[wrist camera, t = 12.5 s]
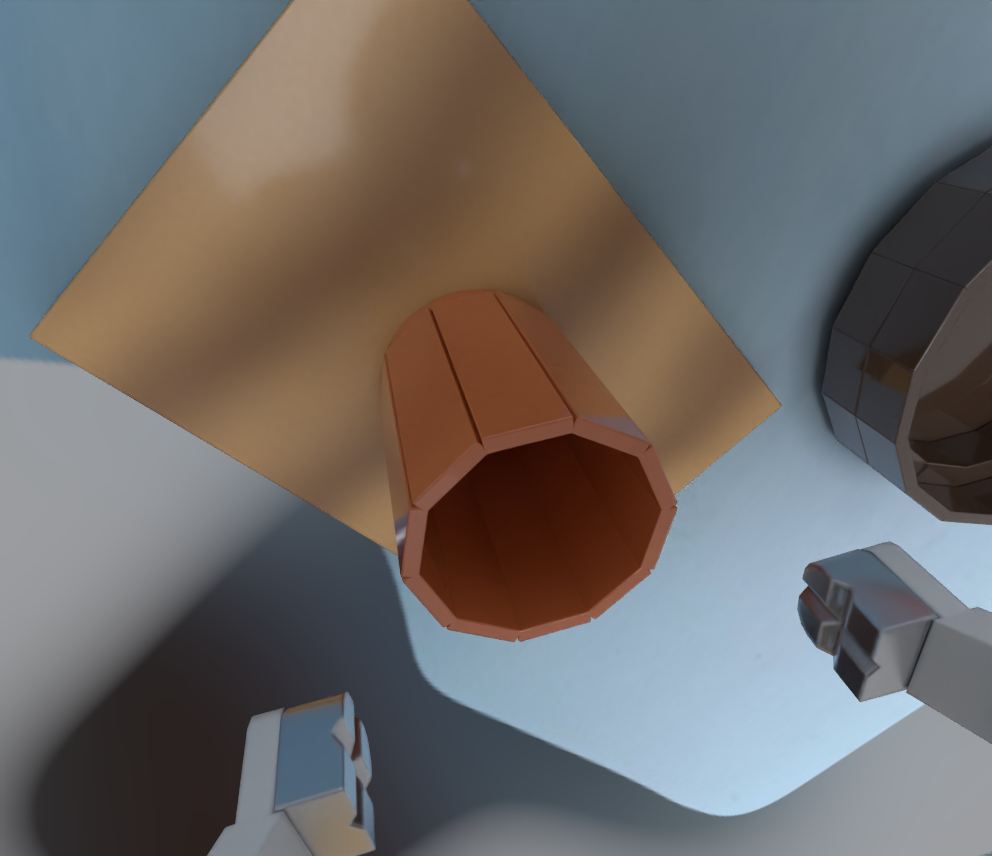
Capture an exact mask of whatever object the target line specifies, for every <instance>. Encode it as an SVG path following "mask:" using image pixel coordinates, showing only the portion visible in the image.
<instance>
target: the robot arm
mask: <svg viewBox="0 0 992 856" xmlns="http://www.w3.org/2000/svg"><path fill="white" fill-rule="evenodd" d="M803 580H804V581H805V582H806V583H807V584H808V586H807V588H806V589H805V590H804V591H803V592H802V593H801V595H800V596H799V601H798V613H799V617H800V621H801V624H802V626H803V628H804V630H805V632H806V634H807V636H808V637H809V638H810V640H811V641H812V642H813V643H814V645H815V646H816V647H817V648H818V649H820V650H822V651H824V652H826V653H828V654H830V655H832V656H833V664H834V670H835V671H836V673H837V674H838V675H839V676H840V678H841V679H842V680H843V681H844V683H845V684H846V685H847V686H848V688H849V689H850V690H851V691H852V693H853V694H854V695H855V696H856V698H857V699H858V700H859V701H860V702H862V701H866V700H870V699H873V698H877V697H881V696H884V695H888V694H892V693H896V692H899V691H903V690H907V692H906V693H908V694H910V695H911V696H913V697H915V698H916V699H918V700H920V701H921V702H923V703H925V704H926V705H928V706H930V707H931V708H933V709H935V710H936V711H938V712H940V713H941V714H943V715H945V716H946V717H948V718H950V719H951V720H953V721H954V722H956V723H958V724H960V725H961V726H963V727H965V728H966V729H968V730H970V731H971V732H973V733H974V734H976V735H978V736H979V737H981V738H983V739H984V740H986V741H988V742H989V743H991V744H992V612H989V611H986V610H984V609H981V608H979V607H976V608H972V609H969V608H968V607H967V606H966V605H965V604H964V603H962V602H961V601H960V600H959V599H958V598H957V597H956V596H955V595H953V594H952V593H951V592H950V591H949V590H948V589H947V588H946V587H945V586H943V585H942V584H941V583H940V582H939V581H938V580H937V579H936V578H934V577H933V576H932V575H931V574H930V573H929V572H928V571H927V570H925V569H924V568H923V567H922V566H921V565H920V564H919V563H918V562H917V561H915V560H914V559H913V558H912V557H911V556H910V555H909V554H908V553H906V552H905V551H904V550H903V549H902V548H901V547H900V546H898V545H896V544H894V543H892V542H885V543H881V544H877V545H874V546H871V547H867V548H864V549H861V550H860V549H857V550H854V551H850V552H847V553H843V554H840V555H837V556H833V557H830V558H826V559H823V560H819V561H816V562H813V563H810V564H809V565H808V566H807V567H806V568H805V570H804V575H803ZM371 778H372V770H371V758H370V751H369V745H368V739H367V736H366V732H365V729H364V726H363V724H362V721H361V719H359V718H356V717H354V703H353V701H352V699H351V697H350V695H349V693H348V692H345V693H341V694H337V695H334V696H330V697H326V698H321V699H317V700H314V701H310V702H306V703H302V704H298V705H294V706H290V707H286V708H281V709H278V710H274V711H270V712H267V713H263V714H260V715H256V716H253V717H252V719H251V721H250V724H249V726H248V729H247V736H246V744H245V752H244V760H243V768H242V776H241V784H240V791H239V799H238V807H237V815H236V823H235V824H234V825H231V826H228V827H225V829H224V830H223V832H222V834H221V835H220V837H219V838H218V840H217V841H216V843H215V844H214V846H213V848H212V849H211V851H210V852H209V854H208V855H207V856H358V855H361V854H364V853H366V852H370V851H373V850H375V830H374V809H373V808H374V807H373V804H372V801H371V799H370V797H369V795H368V793H367V791H366V788H367V786H368V784H369V782H370V780H371ZM980 856H992V852H989V853H986V854H983V855H980Z"/></svg>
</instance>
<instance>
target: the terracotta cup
mask: <svg viewBox="0 0 992 856" xmlns="http://www.w3.org/2000/svg"><path fill="white" fill-rule="evenodd" d="M380 391H381V393H380V404H379V411H380V419H381V427H382V434H383V442H384V450H385V458H386V465H387V473H388V481H389V489H390V496H391V504H392V512H393V520H394V527H395V535H396V543H397V551H398V558H399V566H400V574H401V577H402V580H403V582H404V583H405V585H406V586H407V587H408V588H409V589H410V590H411V591H412V593H413V594H414V595H415V596H416V597H417V598H418V599H419V601H420V602H421V603H422V604H423V605H424V606H425V607H426V608H427V610H428V611H429V612H430V613H431V614H432V615H433V616H434V618H435V619H436V620H437V621H438V622H439V623H440V624H441V625H442V627H446V626H447V629H448V630H452V631H457V632H463V633H468V634H473V635H479V636H484V637H489V638H495V639H500V640H505V641H511V642H515V641H516V640H517V638H518V640H519V641H520V642H521V641H525V640H528V639H532V638H535V637H539V636H542V635H546V634H549V633H553V632H557V631H560V630H564V629H567V628H571V627H574V626H578V625H581V624H585V623H588V622H591V617H592V618H594V619H597V618H598V617H599V616H600V615H601V614H603V613H604V612H605V611H606V610H607V609H609V608H610V607H611V606H612V605H614V604H615V603H616V602H617V601H618V600H620V599H621V598H622V597H623V596H624V595H626V594H627V593H628V592H629V591H630V590H632V589H633V588H634V587H635V586H637V585H638V584H639V583H640V582H641V581H643V580H644V579H645V578H646V577H647V576H649V575H650V574H651V571H650V570H652V569H655V566H656V564H657V561H658V558H659V556H660V553H661V550H662V548H663V545H664V543H665V540H666V537H667V535H668V532H669V529H670V527H671V524H672V522H673V519H674V516H675V514H676V511H677V507H676V505H677V500H676V498H675V496H674V493H673V491H672V488H671V486H670V484H669V481H668V479H667V476H666V474H665V472H664V469H663V467H662V465H661V462H660V460H659V457H658V455H657V453H656V450H655V448H654V446H653V445H652V444H651V442H650V441H649V440H648V439H647V437H646V436H645V435H644V434H643V432H642V431H641V430H640V429H639V427H638V426H637V425H636V424H635V423H634V421H633V420H632V419H631V418H630V416H629V415H628V414H627V413H626V411H625V410H624V409H623V408H622V406H621V405H620V404H619V403H618V401H617V400H616V399H615V398H614V396H613V395H612V394H611V393H610V391H609V390H608V389H607V388H606V386H605V385H604V384H603V383H602V381H601V380H600V379H599V378H598V376H597V375H596V374H595V373H594V371H593V370H592V369H591V368H590V366H589V365H588V364H587V363H586V362H585V360H584V359H583V358H582V357H581V355H580V354H579V353H578V352H577V350H576V349H575V348H574V347H573V345H572V344H571V343H570V342H569V340H568V339H567V338H566V337H565V335H564V334H563V333H562V332H561V330H560V329H559V328H558V327H557V325H556V324H555V323H554V322H553V320H552V319H551V318H549V317H548V315H546V314H544V313H542V312H540V311H538V310H537V309H536V308H534V307H533V306H532V305H531V304H529V303H527V302H525V301H524V300H522V299H520V298H518V297H515V296H513V295H510V294H507V293H503V292H499V291H493V290H467V291H460V292H456V293H452V294H449V295H445V296H443V297H441V298H438V299H436V300H434V301H432V302H430V303H428V304H427V305H425V306H423V307H422V308H420V309H419V310H418V311H416V312H415V313H414V314H412V315H411V316H410V317H409V318H408V319H407V320H406V321H405V322H404V323H403V324H402V325H401V327H400V328H399V329H398V331H397V332H396V333H395V335H394V336H393V338H392V340H391V342H390V343H389V345H388V347H387V350H386V352H385V355H384V358H383V362H382V366H381V373H380Z"/></svg>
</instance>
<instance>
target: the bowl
mask: <svg viewBox="0 0 992 856" xmlns="http://www.w3.org/2000/svg"><path fill="white" fill-rule="evenodd" d="M822 395H823V398H824V401H825V404H826V408H827V411H828V414H829V417H830V421H831V424H832V427H833V430H834V434H835V437H836V439H837V441H839V442H840V443H841V444H842V445H844V446H845V447H846V448H848V449H849V450H850V451H851V452H853V453H854V454H855V455H857V456H858V457H859V458H860V459H862V460H863V461H864V462H866V463H867V464H868V465H869V466H871V467H872V468H873V469H874V470H876V471H877V472H878V473H880V474H881V475H882V476H883V477H885V478H886V479H887V480H889V481H890V482H891V483H892V484H894V485H895V486H896V487H898V488H899V489H900V490H901V491H903V492H904V493H905V494H906V495H908V496H909V497H910V498H912V499H913V500H914V501H916V502H917V503H918V504H919V505H921V506H922V507H923V508H925V509H926V510H927V511H928V512H930V513H931V514H932V515H934V516H935V517H936V518H937V519H939V520H941V521H946V522H959V523H972V524H985V525H992V147H990V148H989V149H987V150H986V151H984V152H982V153H981V154H979V155H978V156H976V157H975V158H973V159H971V160H970V161H968V162H967V163H965V164H963V165H962V166H960V167H959V168H957V169H955V170H954V171H952V172H951V173H949V174H948V175H946V176H944V177H943V178H941V179H940V180H938V181H937V182H936V183H934V184H933V185H932V186H931V187H930V188H929V189H928V190H927V191H926V192H925V193H924V195H923V196H922V197H921V198H920V199H919V200H918V201H917V202H916V203H915V204H914V205H913V207H912V208H911V209H910V210H909V211H908V212H907V213H906V214H905V215H904V216H903V217H902V219H901V220H900V221H899V222H898V223H897V224H896V225H895V226H894V227H893V228H892V229H891V231H890V232H889V233H888V234H887V235H886V236H885V237H884V238H883V239H882V240H881V241H880V243H879V244H878V245H877V246H876V247H875V248H874V249H873V250H872V253H871V254H870V255H869V257H868V259H867V261H866V263H865V265H864V267H863V268H862V270H861V272H860V274H859V276H858V278H857V280H856V282H855V284H854V286H853V288H852V289H851V291H850V293H849V295H848V297H847V299H846V301H845V303H844V305H843V307H842V309H841V310H840V312H839V314H838V316H837V318H836V320H835V322H834V324H833V328H832V332H831V338H830V344H829V350H828V356H827V362H826V369H825V375H824V381H823V387H822Z"/></svg>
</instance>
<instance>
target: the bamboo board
mask: <svg viewBox="0 0 992 856" xmlns="http://www.w3.org/2000/svg"><path fill="white" fill-rule="evenodd" d="M467 290H493V291H499V292H503V293H507V294H510V295H513V296H515V297H518V298H520V299H522V300H524V301H525V302H527V303H529V304H531V305H532V306H533V307H534V308H536V309H537V310H538V311H540V312H542V313H544V314H546V315H548V317H549V318H551V319H552V320H553V322H554V323H555V324H556V325H557V327H558V328H559V329H560V330H561V332H562V333H563V334H564V335H565V337H566V338H567V339H568V340H569V342H570V343H571V344H572V345H573V347H574V348H575V349H576V350H577V352H578V353H579V354H580V355H581V357H582V358H583V359H584V360H585V362H586V363H587V364H588V365H589V366H590V368H591V369H592V370H593V371H594V373H595V374H596V375H597V376H598V378H599V379H600V380H601V381H602V383H603V384H604V385H605V386H606V388H607V389H608V390H609V391H610V393H611V394H612V395H613V396H614V398H615V399H616V400H617V401H618V403H619V404H620V405H621V406H622V408H623V409H624V410H625V411H626V413H627V414H628V415H629V416H630V418H631V419H632V420H633V421H634V423H635V424H636V425H637V426H638V427H639V429H640V430H641V431H642V432H643V434H644V435H645V436H646V437H647V439H648V440H649V441H650V442H651V444H652V445H653V446H654V448H655V450H656V453H657V455H658V457H659V460H660V462H661V465H662V467H663V469H664V472H665V474H666V476H667V479H668V481H669V484H670V486H671V488H672V491H673V493H674V495H675V494H676V493H678V492H679V491H680V490H681V489H682V488H684V487H685V486H686V485H687V484H688V483H690V482H691V481H692V480H693V479H694V478H696V477H697V476H698V475H699V474H700V473H702V472H703V471H704V470H705V469H707V468H708V467H709V466H710V465H711V464H713V463H714V462H715V461H716V460H717V459H719V458H720V457H721V456H722V455H723V454H725V453H726V452H727V451H728V450H729V449H731V448H732V447H733V446H734V445H735V444H737V443H738V442H739V441H740V440H741V439H743V438H744V437H745V436H746V435H747V434H749V433H750V432H751V431H752V430H753V429H755V428H756V427H757V426H758V425H759V424H761V423H762V422H763V421H764V420H765V419H767V418H768V417H769V416H770V415H771V414H773V413H774V412H775V411H776V410H778V409H779V408H780V407H781V406H782V405H781V403H780V402H779V401H778V399H777V398H776V397H775V396H774V394H773V393H772V392H771V390H770V389H769V388H768V386H767V385H766V384H765V383H764V381H763V380H762V379H761V377H760V376H759V375H758V374H757V372H756V371H755V370H754V368H753V367H752V366H751V365H750V363H749V362H748V361H747V359H746V358H745V357H744V355H743V354H742V353H741V352H740V350H739V349H738V348H737V346H736V345H735V344H734V343H733V341H732V340H731V339H730V337H729V336H728V335H727V334H726V332H725V331H724V330H723V328H722V327H721V326H720V325H719V323H718V322H717V321H716V319H715V318H714V317H713V315H712V314H711V313H710V312H709V310H708V309H707V308H706V306H705V305H704V304H703V303H702V301H701V300H700V299H699V297H698V296H697V295H696V294H695V292H694V291H693V290H692V288H691V287H690V286H689V284H688V283H687V282H686V281H685V279H684V278H683V277H682V275H681V274H680V273H679V272H678V270H677V269H676V268H675V266H674V265H673V264H672V263H671V261H670V260H669V259H668V257H667V256H666V255H665V254H664V252H663V251H662V250H661V248H660V247H659V246H658V244H657V243H656V242H655V241H654V239H653V238H652V237H651V235H650V234H649V233H648V232H647V230H646V229H645V228H644V226H643V225H642V224H641V223H640V221H639V220H638V219H637V217H636V216H635V215H634V213H633V212H632V211H631V210H630V208H629V207H628V206H627V204H626V203H625V202H624V201H623V199H622V198H621V197H620V195H619V194H618V193H617V192H616V190H615V189H614V188H613V186H612V185H611V184H610V183H609V181H608V180H607V179H606V177H605V176H604V175H603V173H602V172H601V171H600V170H599V168H598V167H597V166H596V164H595V163H594V162H593V161H592V159H591V158H590V157H589V155H588V154H587V153H586V152H585V150H584V149H583V148H582V146H581V145H580V144H579V143H578V141H577V140H576V139H575V137H574V136H573V135H572V133H571V132H570V131H569V130H568V128H567V127H566V126H565V124H564V123H563V122H562V121H561V119H560V118H559V117H558V115H557V114H556V113H555V112H554V110H553V109H552V108H551V106H550V105H549V104H548V102H547V101H546V100H545V99H544V97H543V96H542V95H541V93H540V92H539V91H538V90H537V88H536V87H535V86H534V84H533V83H532V82H531V81H530V79H529V78H528V77H527V75H526V74H525V73H524V72H523V70H522V69H521V68H520V66H519V65H518V64H517V62H516V61H515V60H514V59H513V57H512V56H511V55H510V53H509V52H508V51H507V50H506V48H505V47H504V46H503V44H502V43H501V42H500V41H499V39H498V38H497V37H496V35H495V34H494V33H493V31H492V30H491V29H490V28H489V26H488V25H487V24H486V22H485V21H484V20H483V19H482V17H481V16H480V15H479V13H478V12H477V11H476V10H475V8H474V7H473V6H472V4H471V3H470V2H469V1H468V0H292V1H291V2H290V3H289V4H288V6H287V7H286V8H285V10H284V11H283V12H282V13H281V15H280V16H279V17H278V18H277V20H276V21H275V22H274V24H273V25H272V26H271V27H270V29H269V30H268V31H267V33H266V34H265V35H264V36H263V38H262V39H261V40H260V41H259V43H258V44H257V45H256V47H255V48H254V49H253V50H252V52H251V53H250V54H249V55H248V57H247V58H246V59H245V61H244V62H243V63H242V64H241V66H240V67H239V68H238V70H237V71H236V72H235V73H234V75H233V76H232V77H231V78H230V80H229V81H228V82H227V84H226V85H225V86H224V87H223V89H222V90H221V91H220V92H219V94H218V95H217V96H216V98H215V99H214V100H213V101H212V103H211V104H210V105H209V107H208V108H207V109H206V110H205V112H204V113H203V114H202V115H201V117H200V118H199V119H198V121H197V122H196V123H195V124H194V126H193V127H192V128H191V129H190V131H189V132H188V133H187V135H186V136H185V137H184V138H183V140H182V141H181V142H180V144H179V145H178V146H177V147H176V149H175V150H174V151H173V152H172V154H171V155H170V156H169V158H168V159H167V160H166V161H165V163H164V164H163V165H162V166H161V168H160V169H159V170H158V172H157V173H156V174H155V175H154V177H153V178H152V179H151V181H150V182H149V183H148V184H147V186H146V187H145V188H144V189H143V191H142V192H141V193H140V195H139V196H138V197H137V198H136V200H135V201H134V202H133V203H132V205H131V206H130V207H129V209H128V210H127V211H126V212H125V214H124V215H123V216H122V218H121V219H120V220H119V221H118V223H117V224H116V225H115V226H114V228H113V229H112V230H111V232H110V233H109V234H108V235H107V237H106V238H105V239H104V240H103V242H102V243H101V244H100V246H99V247H98V248H97V249H96V251H95V252H94V253H93V255H92V256H91V257H90V258H89V260H88V261H87V262H86V263H85V265H84V266H83V267H82V269H81V270H80V271H79V272H78V274H77V275H76V276H75V277H74V279H73V280H72V281H71V283H70V284H69V285H68V286H67V288H66V289H65V290H64V292H63V293H62V294H61V295H60V297H59V298H58V299H57V300H56V302H55V303H54V304H53V306H52V307H51V308H50V309H49V311H48V312H47V313H46V314H45V316H44V317H43V318H42V320H41V321H40V322H39V323H38V325H37V326H36V327H35V329H34V330H33V331H32V332H31V334H30V336H29V337H30V338H31V339H33V340H35V341H37V342H38V343H40V344H42V345H43V346H45V347H47V348H48V349H50V350H52V351H53V352H55V353H57V354H58V355H60V356H62V357H64V358H65V359H67V360H69V361H70V362H72V363H74V364H75V365H77V366H79V367H80V368H82V369H84V370H85V371H87V372H89V373H91V374H92V375H94V376H96V377H98V378H99V379H101V380H102V381H104V382H106V383H107V384H109V385H111V386H113V387H114V388H116V389H118V390H119V391H121V392H123V393H125V394H126V395H128V396H129V397H131V398H133V399H134V400H136V401H138V402H139V403H141V404H143V405H145V406H146V407H148V408H150V409H151V410H153V411H155V412H156V413H158V414H160V415H161V416H163V417H165V418H166V419H168V420H170V421H171V422H173V423H175V424H177V425H178V426H180V427H182V428H183V429H185V430H187V431H188V432H190V433H192V434H194V435H195V436H197V437H198V438H200V439H202V440H204V441H205V442H207V443H209V444H210V445H212V446H214V447H215V448H217V449H219V450H220V451H222V452H224V453H225V454H227V455H229V456H231V457H232V458H234V459H236V460H237V461H239V462H241V463H242V464H244V465H246V466H248V467H249V468H251V469H253V470H254V471H256V472H258V473H260V474H261V475H263V476H264V477H266V478H268V479H269V480H271V481H273V482H274V483H276V484H278V485H279V486H281V487H283V488H284V489H286V490H288V491H290V492H291V493H293V494H295V495H296V496H298V497H300V498H301V499H303V500H305V501H306V502H308V503H310V504H312V505H313V506H315V507H317V508H318V509H320V510H322V511H323V512H325V513H327V514H328V515H330V516H332V517H333V518H335V519H337V520H338V521H340V522H342V523H344V524H345V525H347V526H349V527H350V528H352V529H354V530H355V531H357V532H359V533H360V534H362V535H364V536H366V537H367V538H369V539H371V540H372V541H374V542H376V543H377V544H379V545H381V546H382V547H384V548H386V549H387V550H389V551H391V552H392V553H394V554H396V555H397V556H398V551H397V543H396V535H395V527H394V520H393V512H392V504H391V496H390V489H389V481H388V473H387V465H386V458H385V450H384V442H383V434H382V427H381V419H380V411H379V404H380V393H381V391H380V373H381V366H382V362H383V358H384V355H385V352H386V350H387V347H388V345H389V343H390V342H391V340H392V338H393V336H394V335H395V333H396V332H397V331H398V329H399V328H400V327H401V325H402V324H403V323H404V322H405V321H406V320H407V319H408V318H409V317H410V316H411V315H412V314H414V313H415V312H416V311H418V310H419V309H420V308H422V307H423V306H425V305H427V304H428V303H430V302H432V301H434V300H436V299H438V298H441V297H443V296H445V295H449V294H452V293H456V292H460V291H467Z"/></svg>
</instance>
